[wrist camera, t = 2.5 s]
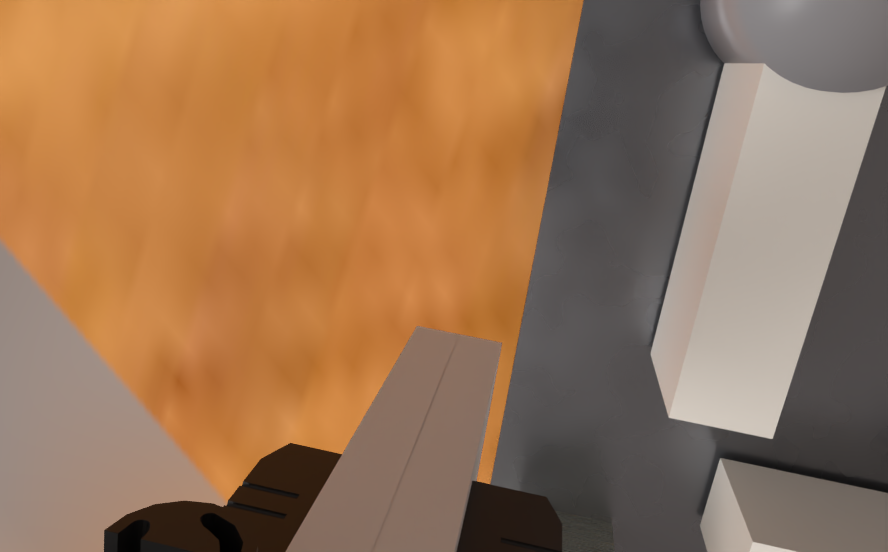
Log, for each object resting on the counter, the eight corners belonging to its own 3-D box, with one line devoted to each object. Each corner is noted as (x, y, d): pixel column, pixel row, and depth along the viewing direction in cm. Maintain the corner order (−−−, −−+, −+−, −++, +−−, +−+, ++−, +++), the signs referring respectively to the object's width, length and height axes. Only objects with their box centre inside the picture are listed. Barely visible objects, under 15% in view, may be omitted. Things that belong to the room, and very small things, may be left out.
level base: (620, -190, 19) (662, -393, 11) (1299, -112, 17) (2005, -281, 9) (478, 543, 26) (436, 775, 17) (952, 653, 24) (1160, 971, 16)
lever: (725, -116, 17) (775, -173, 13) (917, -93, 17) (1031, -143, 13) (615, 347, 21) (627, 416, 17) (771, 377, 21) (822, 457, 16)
